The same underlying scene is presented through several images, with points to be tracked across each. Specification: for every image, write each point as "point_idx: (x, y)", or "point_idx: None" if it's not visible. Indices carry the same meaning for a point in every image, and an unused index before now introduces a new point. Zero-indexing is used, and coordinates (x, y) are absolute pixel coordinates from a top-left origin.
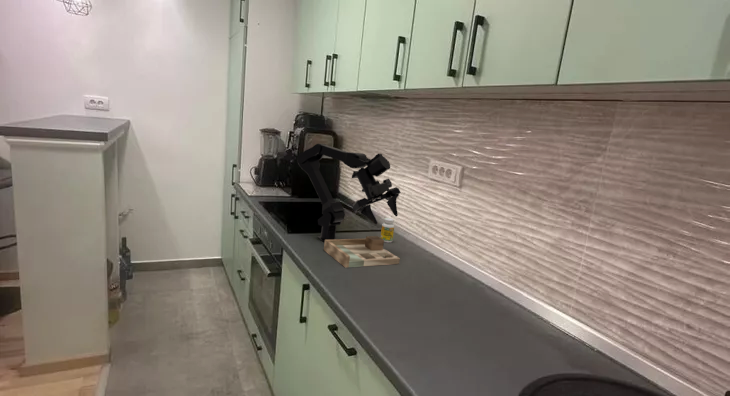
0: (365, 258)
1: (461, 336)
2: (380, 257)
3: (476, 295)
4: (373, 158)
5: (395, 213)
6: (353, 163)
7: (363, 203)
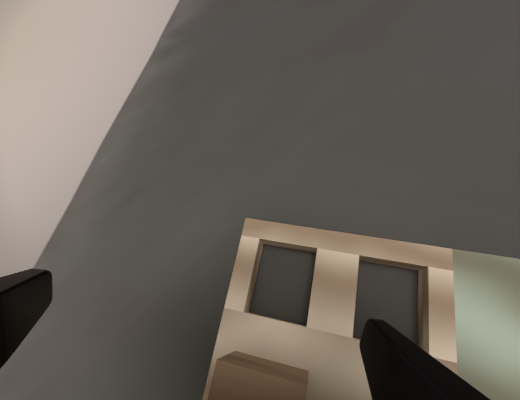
0: None
1: None
2: (329, 259)
3: (230, 10)
4: None
5: (19, 299)
6: None
7: None
